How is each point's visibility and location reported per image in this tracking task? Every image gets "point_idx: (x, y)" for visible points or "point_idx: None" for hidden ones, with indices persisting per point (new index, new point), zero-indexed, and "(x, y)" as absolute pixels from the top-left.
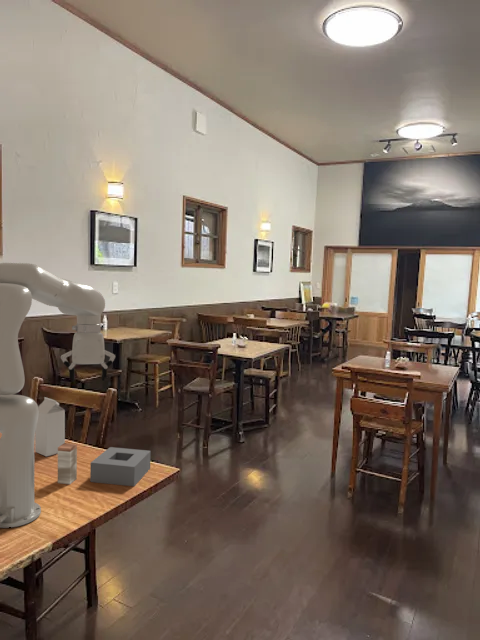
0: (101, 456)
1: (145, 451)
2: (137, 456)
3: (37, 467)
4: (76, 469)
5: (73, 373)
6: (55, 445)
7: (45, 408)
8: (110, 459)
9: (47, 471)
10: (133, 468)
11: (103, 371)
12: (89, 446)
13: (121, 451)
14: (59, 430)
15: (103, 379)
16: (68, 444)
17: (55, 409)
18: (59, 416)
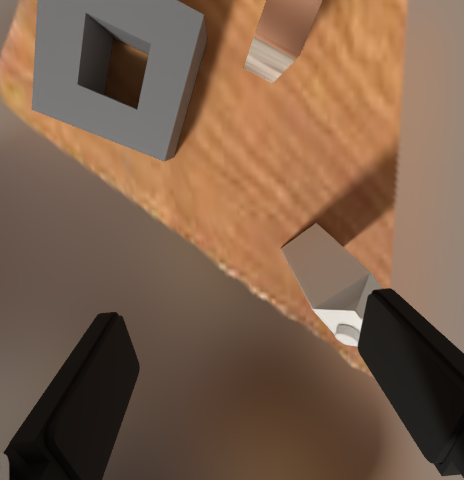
0: (177, 74)
1: (46, 104)
2: (60, 56)
3: (333, 163)
4: (246, 60)
5: (433, 352)
6: (304, 243)
7: None
8: (144, 37)
9: (312, 133)
10: None
11: (51, 401)
12: (231, 272)
13: (123, 115)
14: (307, 266)
15: (103, 318)
16: (285, 31)
17: (342, 308)
18: (322, 288)
